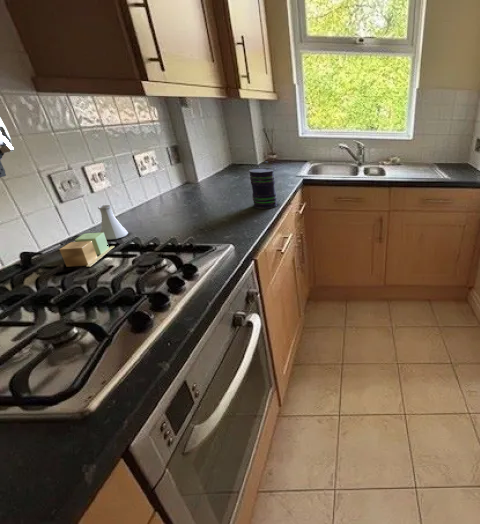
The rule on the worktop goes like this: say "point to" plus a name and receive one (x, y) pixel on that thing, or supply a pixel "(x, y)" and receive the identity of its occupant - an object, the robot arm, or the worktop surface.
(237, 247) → the worktop surface
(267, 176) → the storage jar
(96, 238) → the sage block
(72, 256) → the beech block
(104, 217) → the flask
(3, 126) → the robot arm
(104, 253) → the tape strip
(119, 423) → the worktop surface
